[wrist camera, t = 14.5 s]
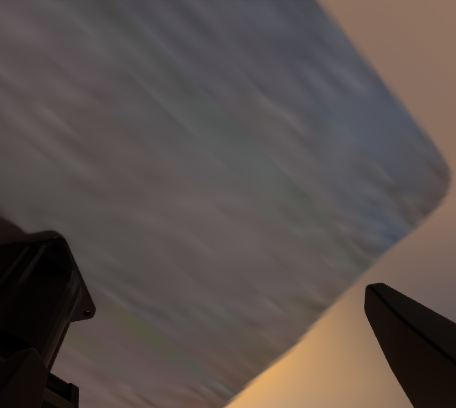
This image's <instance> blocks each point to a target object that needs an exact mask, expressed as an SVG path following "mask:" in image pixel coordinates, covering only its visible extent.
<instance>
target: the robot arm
mask: <svg viewBox="0 0 456 408" xmlns="http://www.w3.org/2000/svg"><path fill="white" fill-rule="evenodd" d="M55 245H59V246H60V247H61V248H57V247H56V246H55ZM364 309H365V313H366V316H367V318H368V321H369V323H370V325H371V327H372V329H373V331H374V333H375V336H376V338H377V340H378V342H379V344H380V346H381V349H382V351H383V353H384V355H385V357H386V359H387V361H388V363H389V366H390V368H391V369H392V371H393V373H394V375H395V376H396V378H397V380H398V382H399V383H400V385H401V387H402V388H403V390H404V392H405V393H406V395H407V397H408V398H409V400H410V402H411V404H412V405H413V407H414V408H456V323H455V322H453V321H451V320H449V319H447V318H445V317H444V316H442V315H440V314H438V313H436V312H434V311H433V310H431V309H429V308H427V307H426V306H424V305H422V304H420V303H418V302H416V301H415V300H413V299H411V298H409V297H407V296H406V295H403V294H402V293H400V292H398V291H397V290H395V289H393V288H391V287H389V286H388V285H386V284H384V283H375V284H370V285H368V286H366V290H365V304H364ZM86 311H89V312H86ZM95 311H96V308H95V306H94V303H93V301H92V299H91V297H90V294H89V292H88V290H87V287H86V285H85V283H84V280H83V278H82V276H81V274H80V271H79V269H78V267H77V264H76V262H75V260H74V257H73V255H72V253H71V251H70V248H69V246H68V244H67V242H66V241H65V240H64V239H61V238H53V239H48V240H42V241H36V242H31V243H27V242H17V243H11V244H6V245H0V408H79V387H77V386H75V385H74V384H72V383H69V384H68V383H67V382H65V381H63V380H62V379H60V378H59V377H57V376H55V375H54V374H52V373H50V371H51V369H52V366H53V364H54V362H55V359H56V357H57V354H58V352H59V349H60V347H61V345H62V342H63V340H64V337H65V335H66V332H67V330H68V328H69V325H70V323H71V322H75V321H80V320H86V319H90V318H92V317H93V316H94V314H95Z"/></svg>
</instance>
